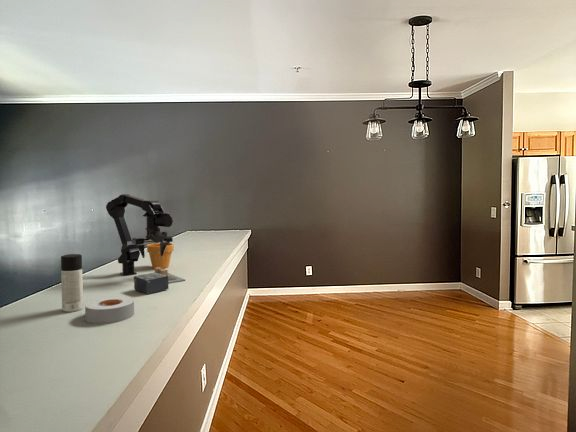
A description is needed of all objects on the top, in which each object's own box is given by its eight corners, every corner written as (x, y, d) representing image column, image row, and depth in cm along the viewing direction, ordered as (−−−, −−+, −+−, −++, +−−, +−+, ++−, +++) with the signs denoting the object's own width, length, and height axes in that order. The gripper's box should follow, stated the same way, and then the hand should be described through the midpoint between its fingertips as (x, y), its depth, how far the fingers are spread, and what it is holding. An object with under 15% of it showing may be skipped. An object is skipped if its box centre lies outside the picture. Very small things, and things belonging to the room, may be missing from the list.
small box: (134, 291, 161) (146, 295, 155) (133, 276, 161) (146, 279, 154) (155, 285, 169) (169, 289, 163) (155, 271, 169) (168, 275, 162)
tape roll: (89, 311, 133) (88, 298, 133) (134, 307, 139) (134, 294, 138) (82, 326, 119) (81, 311, 119) (133, 321, 124) (133, 306, 124)
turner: (150, 276, 185) (150, 268, 185) (163, 274, 190) (163, 266, 190) (162, 281, 175) (162, 273, 175) (176, 279, 180) (176, 271, 180)
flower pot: (146, 265, 214) (146, 243, 213) (171, 263, 220) (171, 242, 219) (148, 270, 201) (148, 246, 200) (175, 268, 207) (175, 245, 206)
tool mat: (140, 276, 187) (140, 275, 187) (165, 273, 196) (165, 271, 196) (159, 285, 171) (159, 283, 171) (185, 280, 180) (185, 279, 180)
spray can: (87, 307, 138) (86, 254, 137) (75, 312, 131) (73, 257, 130) (70, 306, 139) (69, 253, 137) (57, 312, 132) (56, 256, 131)
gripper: (140, 228, 172) (140, 261, 173) (177, 226, 185) (177, 257, 186) (131, 226, 180) (131, 258, 181) (167, 224, 193) (167, 254, 194)
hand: (152, 256), depth 185 cm, fingers open, 9 cm apart
